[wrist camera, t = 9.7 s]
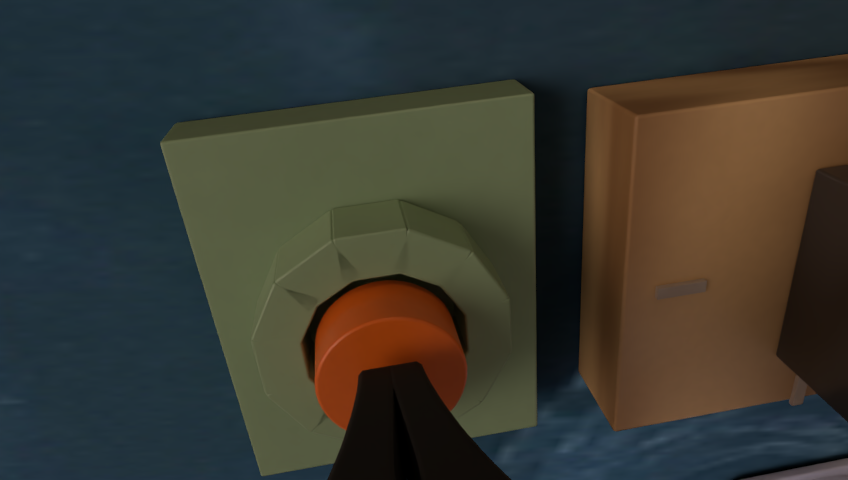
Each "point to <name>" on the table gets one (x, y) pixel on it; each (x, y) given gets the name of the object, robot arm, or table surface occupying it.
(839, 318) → the red-striped dark box
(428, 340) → the button
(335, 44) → the table surface
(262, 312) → the button box
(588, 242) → the control panel
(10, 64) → the table surface
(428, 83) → the table surface
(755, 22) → the table surface
